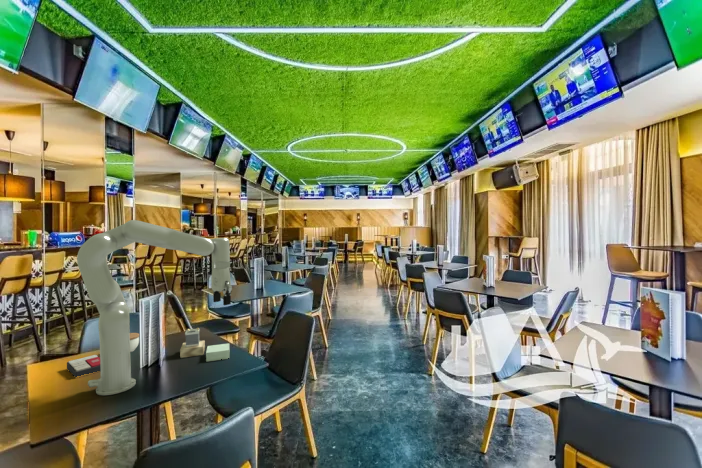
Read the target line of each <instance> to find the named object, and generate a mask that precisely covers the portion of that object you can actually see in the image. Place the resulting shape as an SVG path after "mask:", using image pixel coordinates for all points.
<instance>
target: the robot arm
mask: <svg viewBox="0 0 702 468" xmlns="http://www.w3.org/2000/svg"><path fill="white" fill-rule="evenodd" d="M134 243H138V244H143V245H148V246H153V247H157V248H161V249H167V250H174V251H179V252H185V253H188V254H194V255H197V256H203V257H204V256H205V257H206V256H209V255H211V279H210V281H211V283H210V286H211V290H212V293H213V295H212V296H213V299H212V300H213V303H217V302H218V303H220V302H221V301H223V302H222V303H223V306H229V305H231V304H232V300H231V299H232V298H231V297H232V292H233V291H232V290H233V286H232V282H231V271H230V269H231V258H230V257H231V252H230V250H231V248H230V239H229V238H227V237H216V238H214V237H213V238H206V237H204V236H199V235H195V234H190V233H187V232H183V231H179V230H176V229H174V228H169V227H165V226H163V225H157V224H154V223H153V224H152V223H150V222H145V221H141V220H137V219H131V220H128V221H126V222H125V223H123V224H121V225H118V226H116V227H114V228H111V229H108V230H107V231H104V232H100V233H96V234H94V235H92V236H91V237H89V238H88V239H87V240H86V241H85V242H83V244H82V245H81V246H80V248H79V250H78V252H77V256H76V261H77V267H78V270H79V273H80V275H81V278H82V280H83V281H82V282H83V283H84V286H85V289H86V291H87V294H88V296H89V300H90V301H91V302H92V303H93V304H95V306H96V309H97V311H98V313H99V317H98V325H97V326H98V339H99V340H98V341H99V357H100V367H101V371H100V378H98V379H90V380H88V381H87V386H88V387H89V388H95V387H96V389H95V393H96V394H97V396H98V395H99V396H112V395H116V394H120V393H121V394H122V393H123V392H126V391H128V390H130V389H132V388H134V387H135V385H136V384H137V383H136V381H137V380H136V379H135V378H133V377H132V373H131V372H132V368H131V366H132V364H131V362H132V361H131V352H130V333H131V331H130V328H131V327H130V325H131V323H130V321H131V320H130V319H131V318H130V310H129V306H128V304H127V302H126V300H125V297H124V294H123V292H122V289H121V285H119V283H118V282H117V281H116V280H115V279H114V278H113V276H112V273H111V270H110V267H109V265H108V262H107V257H108V256H109V255H110V254H111V253H114V252H115V251H117V250H120V249H122V248H124V247H127V246H129V245H132V244H134ZM221 292H222V293H223V296H222V299H221V295H222V294H221Z"/></svg>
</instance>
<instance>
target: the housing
mask: <svg viewBox="0 0 702 468" xmlns="http://www.w3.org/2000/svg"><path fill="white" fill-rule="evenodd" d="M200 331H201V329H200V328H199V327H196V328H187V329H186V331H185V332H184V335H185V343H186V345H185V348H186V347H194V346H199V344H200V341H201V340H200Z"/></svg>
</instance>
